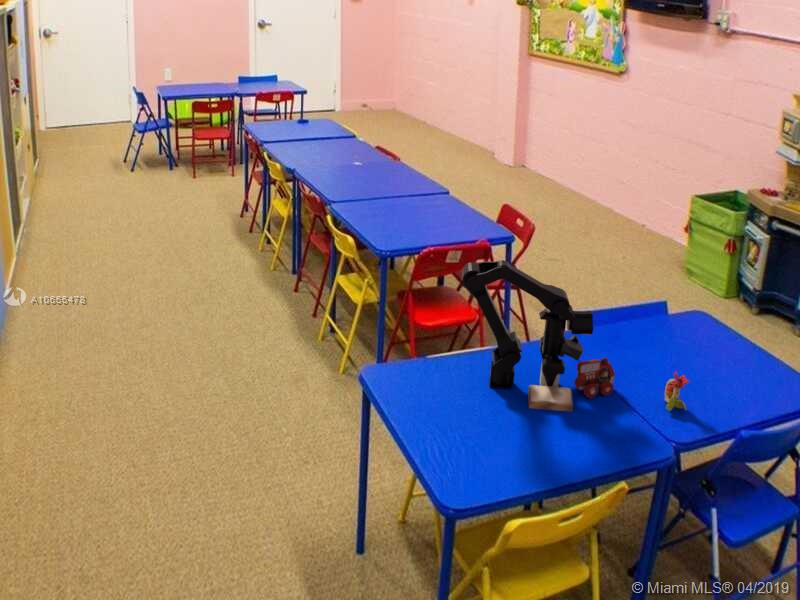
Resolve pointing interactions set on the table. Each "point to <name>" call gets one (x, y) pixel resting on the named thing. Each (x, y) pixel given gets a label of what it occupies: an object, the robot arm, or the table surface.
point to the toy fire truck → (595, 377)
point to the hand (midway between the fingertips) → (549, 380)
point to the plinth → (550, 398)
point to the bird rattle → (675, 392)
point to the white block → (543, 381)
